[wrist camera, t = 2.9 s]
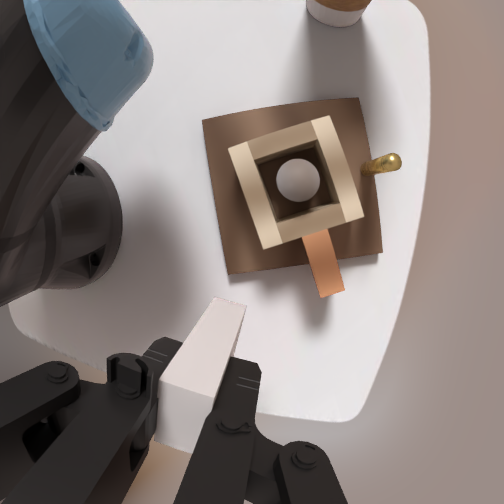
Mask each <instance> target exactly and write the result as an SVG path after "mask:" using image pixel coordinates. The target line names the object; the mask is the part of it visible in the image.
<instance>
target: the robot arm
mask: <svg viewBox="0 0 504 504" xmlns="http://www.w3.org/2000/svg"><path fill="white" fill-rule="evenodd" d="M152 66H153V50H152V47H151V45H150V43H149V41H148V40H147V38H146V37H145V35H144V34H143V32H142V31H141V29H140V28H139V27H138V25H137V24H136V22H135V21H134V20H133V18H132V17H131V16H130V14H129V13H128V12H127V11H126V9H125V8H124V7H123V6H122V4H121V3H120V2H119V0H0V307H1V306H3V305H5V304H7V303H9V302H11V301H13V300H15V299H17V298H19V297H22V296H24V295H26V294H28V293H30V292H32V291H34V290H36V289H39V288H42V289H76V288H80V287H83V286H85V285H87V284H89V283H91V282H93V281H95V280H97V279H98V278H100V277H101V276H102V275H103V274H104V273H105V272H106V271H107V270H108V269H109V267H110V266H111V264H112V263H113V261H114V259H115V256H116V254H117V251H118V248H119V244H120V240H121V233H122V213H121V206H120V201H119V197H118V194H117V191H116V188H115V186H114V184H113V182H112V180H111V178H110V176H109V175H108V173H107V172H106V171H105V170H104V169H103V167H102V166H100V165H99V164H98V163H97V162H96V161H94V160H92V159H90V158H88V157H85V156H83V154H84V153H85V152H86V150H87V149H88V148H89V147H90V145H91V144H92V143H93V141H94V140H95V139H96V138H97V136H98V135H99V134H100V133H101V132H102V131H107V130H108V129H109V128H110V126H111V125H112V123H113V120H114V117H115V115H116V114H117V113H118V112H119V110H120V109H121V108H122V107H123V106H124V105H125V103H126V102H127V101H128V100H129V99H130V98H131V96H132V95H133V94H134V93H135V92H136V91H137V90H138V89H139V87H140V86H141V85H142V84H143V83H144V82H145V81H146V79H147V78H148V76H149V74H150V72H151V70H152ZM245 310H246V305H242V304H238V303H235V302H231V301H227V300H224V299H220V298H217V297H214V298H213V300H212V301H211V303H210V304H209V306H208V307H207V309H206V310H205V312H204V313H203V315H202V316H201V318H200V319H199V321H198V322H197V324H196V325H195V327H194V328H193V329H192V331H191V332H190V334H189V335H188V337H187V338H186V340H185V341H184V343H182V342H179V341H176V340H173V339H170V338H167V337H163V338H161V339H159V340H156V341H154V343H153V344H152V345H151V346H150V347H149V348H148V350H147V351H146V352H145V353H144V354H143V356H139V355H135V354H131V353H118V354H114V355H112V356H110V357H108V358H107V382H106V384H98V383H93V382H88V381H84V380H80V379H79V375H78V372H77V370H76V369H75V368H74V367H73V366H71V365H70V364H68V363H64V362H61V361H51V362H47V363H44V364H42V365H40V366H37V367H35V368H33V369H31V370H29V371H27V372H24V373H22V374H20V375H18V376H16V377H13V378H11V379H9V380H7V381H5V382H3V383H0V501H1V500H2V499H4V498H5V500H4V501H3V502H2V503H1V504H121V503H122V501H123V499H124V498H125V496H126V494H127V492H128V490H129V488H130V486H131V484H132V483H133V481H134V479H135V477H136V475H137V473H138V471H139V469H140V467H141V465H142V464H143V461H144V460H145V458H146V456H147V454H148V451H149V442H150V440H151V438H152V436H153V434H154V433H155V437H154V441H156V442H159V443H162V444H165V445H167V446H170V447H173V448H176V449H179V450H182V451H185V452H188V453H191V454H192V456H191V459H190V461H189V464H188V467H187V469H186V472H185V474H184V477H183V480H182V482H181V485H180V488H179V490H178V493H177V495H176V498H175V500H174V503H173V504H243V503H244V499H245V500H247V501H249V502H251V503H253V504H348V503H347V500H346V498H345V496H344V494H343V491H342V489H341V486H340V484H339V482H338V479H337V477H336V474H335V472H334V470H333V467H332V465H331V463H330V460H329V458H328V456H327V455H326V453H325V452H324V451H323V450H322V449H321V448H319V447H318V446H317V445H314V444H311V443H309V442H303V441H295V442H290V443H288V444H287V445H285V446H282V445H280V444H277V443H275V442H273V441H271V440H269V439H267V438H266V437H264V436H263V435H262V434H261V433H260V432H259V430H258V429H257V427H256V425H255V413H256V406H257V400H258V393H259V387H260V380H261V373H262V372H261V370H260V368H259V366H258V364H257V363H254V362H250V361H247V360H243V359H239V358H235V357H233V356H234V352H235V349H236V345H237V341H238V337H239V333H240V329H241V326H242V322H243V318H244V314H245Z"/></svg>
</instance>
